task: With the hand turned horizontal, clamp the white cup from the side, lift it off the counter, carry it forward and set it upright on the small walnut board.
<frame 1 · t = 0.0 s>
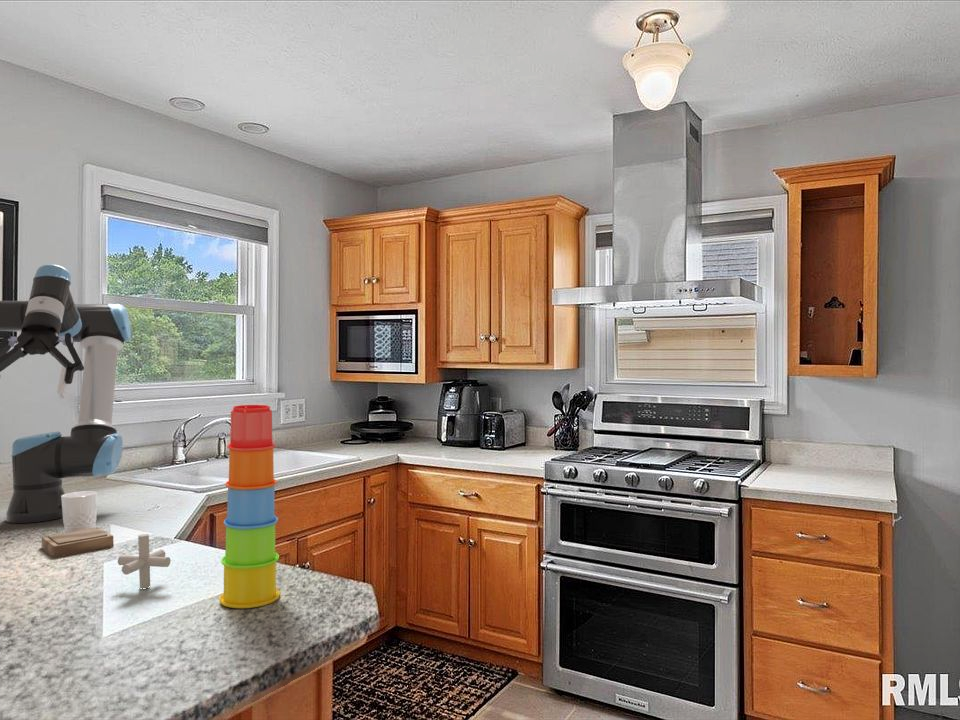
hand: (25, 396, 153), 36 cm above the worktop, tool tilted 35°, fingers open, 13 cm apart
white cup: (80, 534, 176), on the worktop
beige jack: (145, 588, 133), on the worktop
walnut board: (77, 547, 163), on the worktop
stacking cups: (250, 600, 125), on the worktop
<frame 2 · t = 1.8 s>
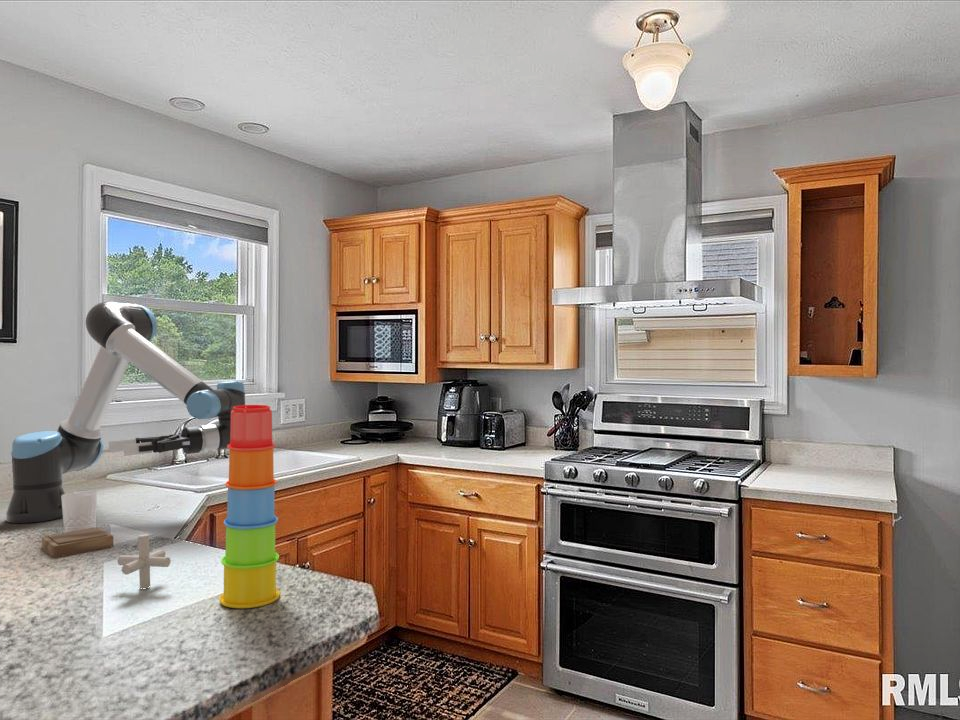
hand: (116, 448, 182), 20 cm above the worktop, tool horizontal, fingers open, 13 cm apart
nothing on the worktop moved.
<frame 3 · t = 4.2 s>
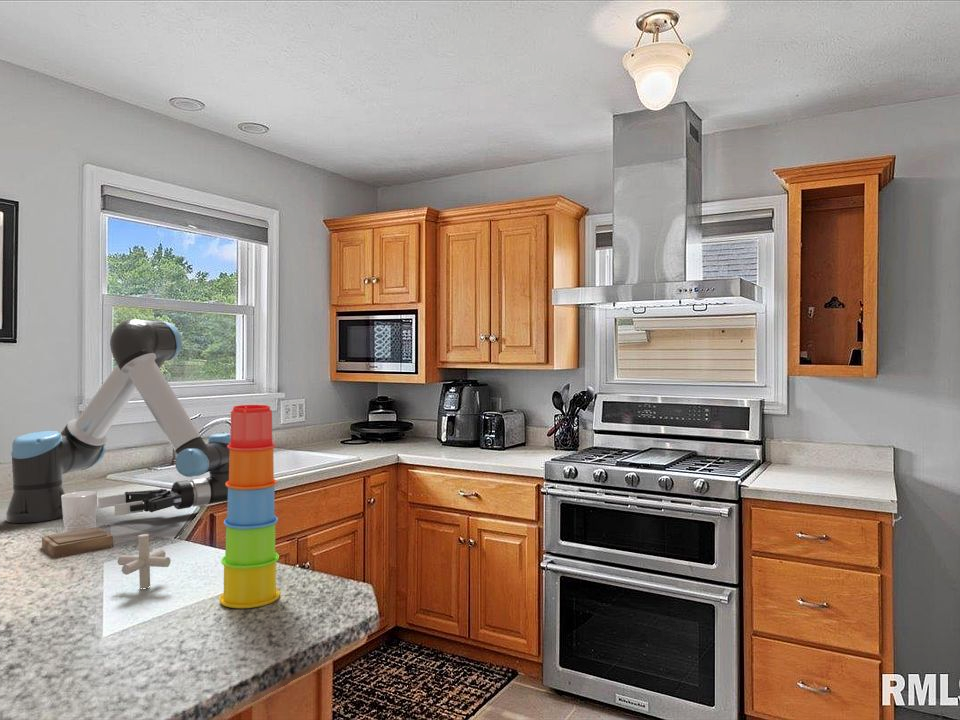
hand: (106, 506, 180), 6 cm above the worktop, tool horizontal, fingers open, 13 cm apart
nothing on the worktop moved.
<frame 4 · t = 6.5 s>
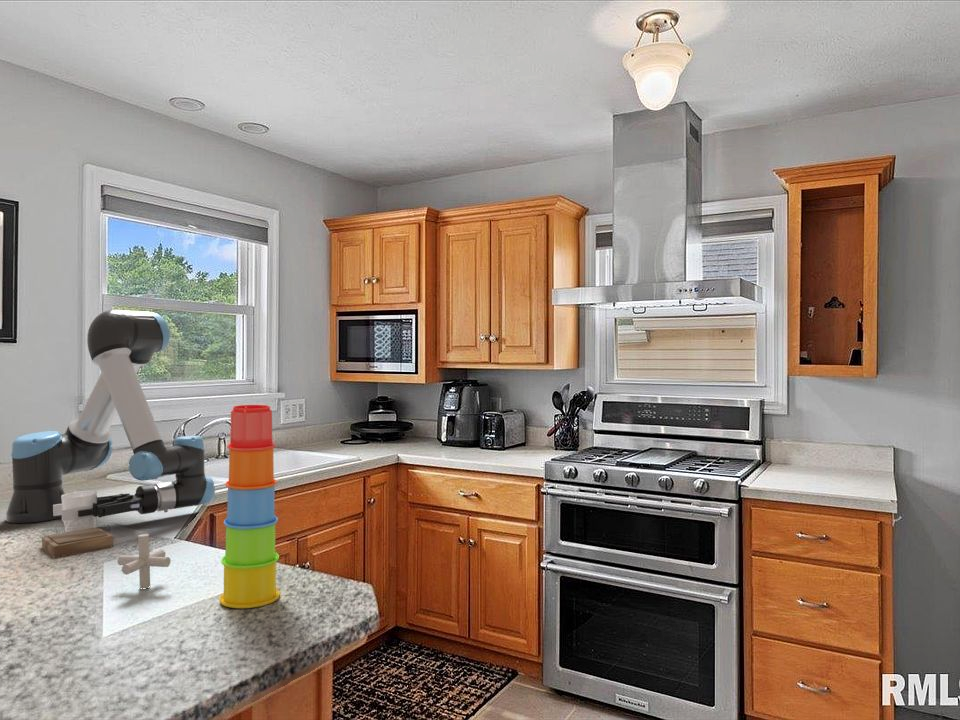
hand: (57, 512, 173), 6 cm above the worktop, tool horizontal, fingers closed on white cup, 8 cm apart
white cup: (80, 534, 176), on the worktop, touching gripper
everything else where it was.
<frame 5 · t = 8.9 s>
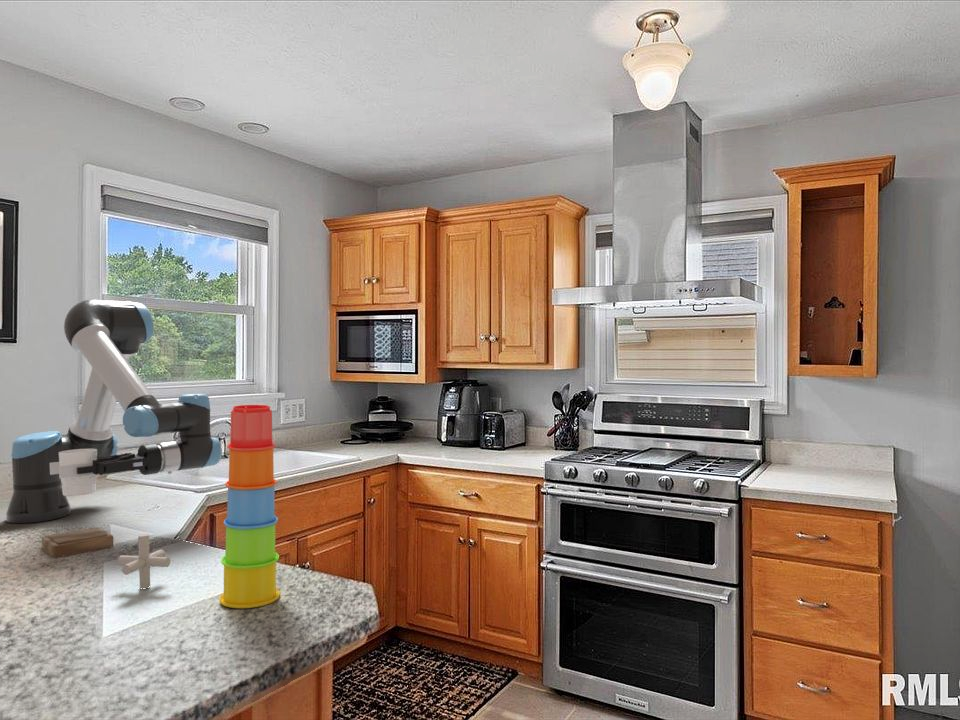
hand: (55, 470, 161), 18 cm above the worktop, tool horizontal, fingers closed on white cup, 8 cm apart
white cup: (79, 494, 165), point 12 cm above the worktop, touching gripper
everything else where it was.
when the fingers open (10 cm above the worktop, at t = 11.3 s): white cup drops 1 cm, resting on walnut board.
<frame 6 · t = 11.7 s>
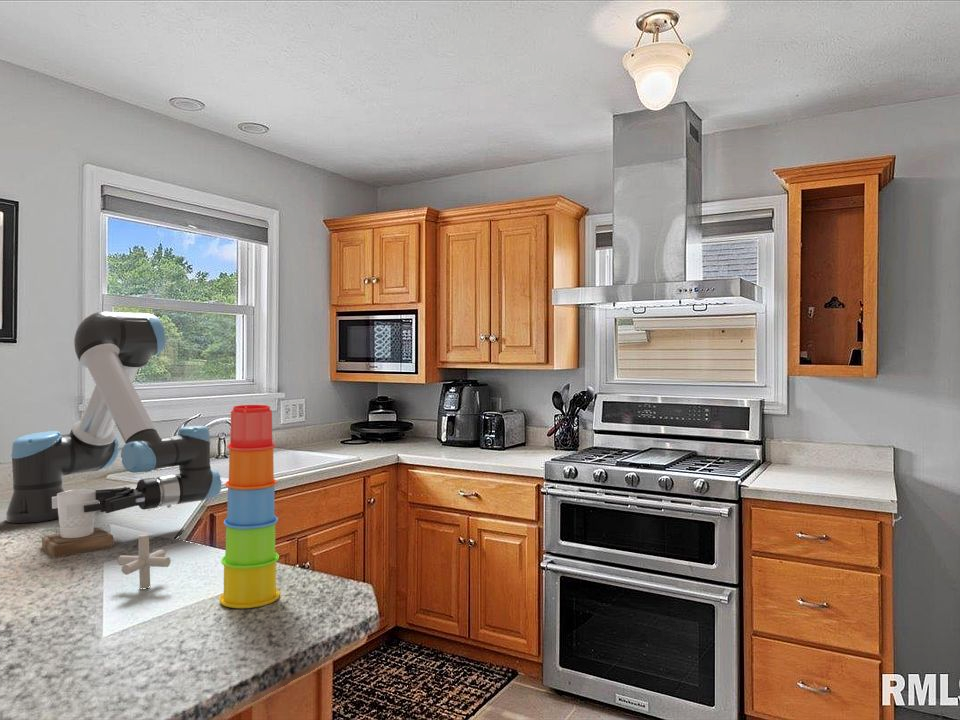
hand: (58, 506, 161), 10 cm above the worktop, tool horizontal, fingers open, 12 cm apart
white cup: (77, 535, 163), point 3 cm above the worktop, touching walnut board
everything else where it was.
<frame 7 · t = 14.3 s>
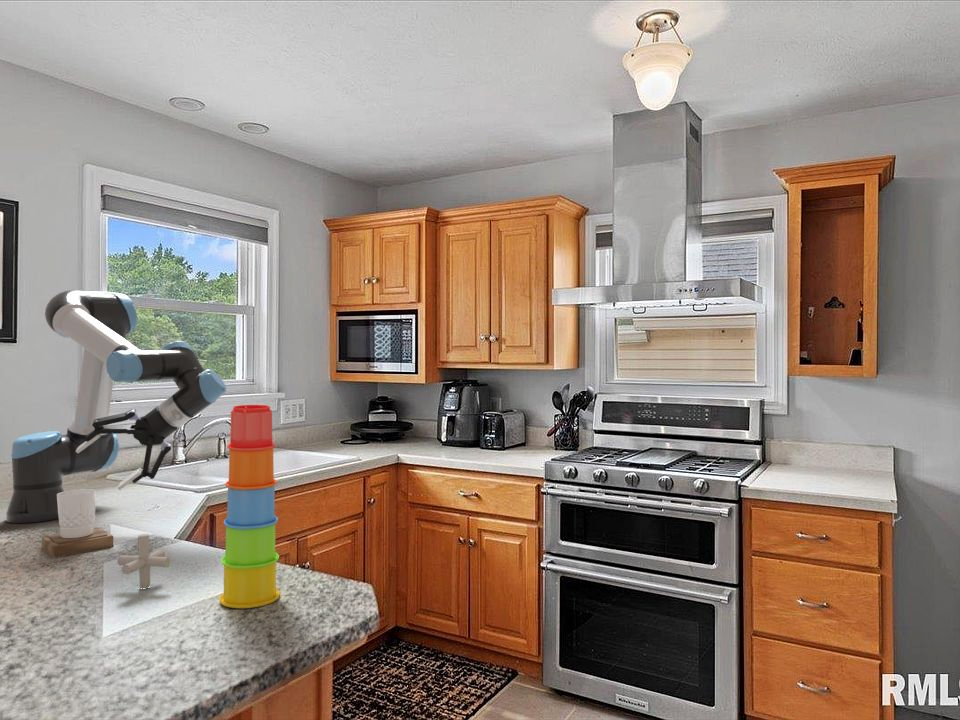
hand: (98, 468, 175), 16 cm above the worktop, tool tilted 55°, fingers open, 13 cm apart
nothing on the worktop moved.
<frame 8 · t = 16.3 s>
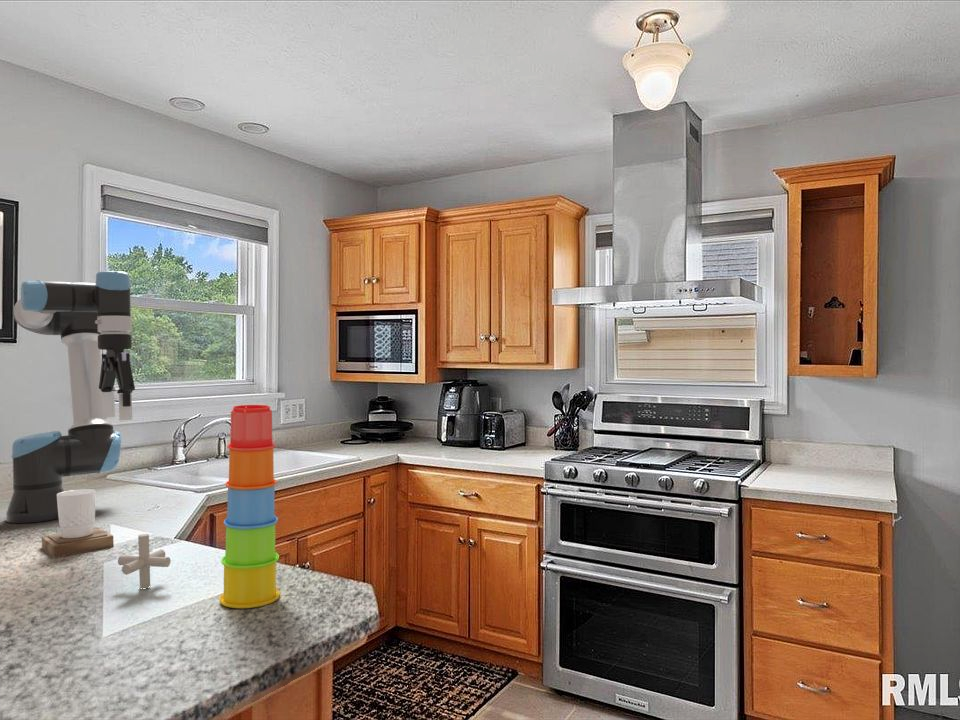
hand: (117, 418, 175), 29 cm above the worktop, tool pointing down, fingers open, 13 cm apart
nothing on the worktop moved.
at the end: white cup inside the target area on the walnut board (0.1 cm from its centre), point 2.6 cm above the walnut board's base; white cup tilted 0°; the gripper is holding nothing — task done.
